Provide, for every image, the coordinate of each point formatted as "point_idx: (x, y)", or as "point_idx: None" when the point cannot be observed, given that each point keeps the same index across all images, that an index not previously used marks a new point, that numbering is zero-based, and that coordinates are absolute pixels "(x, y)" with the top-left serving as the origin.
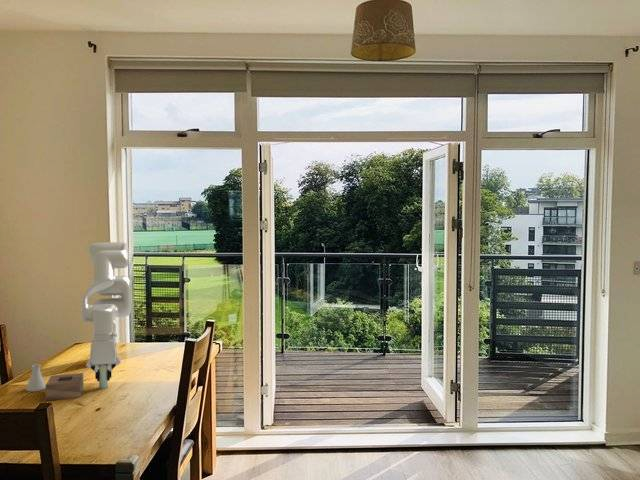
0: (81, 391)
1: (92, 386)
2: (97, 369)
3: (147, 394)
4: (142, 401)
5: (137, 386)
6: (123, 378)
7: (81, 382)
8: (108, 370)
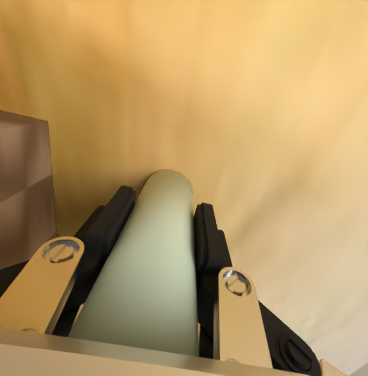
0: (51, 213)
1: (106, 141)
2: (71, 326)
3: (300, 337)
4: None
5: (320, 258)
6: (342, 62)
7: (8, 247)
8: (197, 306)
